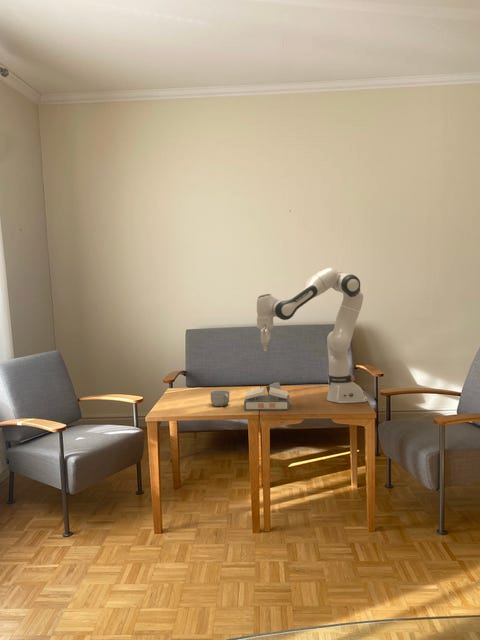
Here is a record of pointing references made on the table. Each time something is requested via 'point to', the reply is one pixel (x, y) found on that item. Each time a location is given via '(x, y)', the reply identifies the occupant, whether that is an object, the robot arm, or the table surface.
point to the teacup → (219, 397)
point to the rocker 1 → (255, 393)
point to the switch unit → (267, 403)
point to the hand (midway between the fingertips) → (265, 349)
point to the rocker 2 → (278, 392)
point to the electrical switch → (273, 386)
